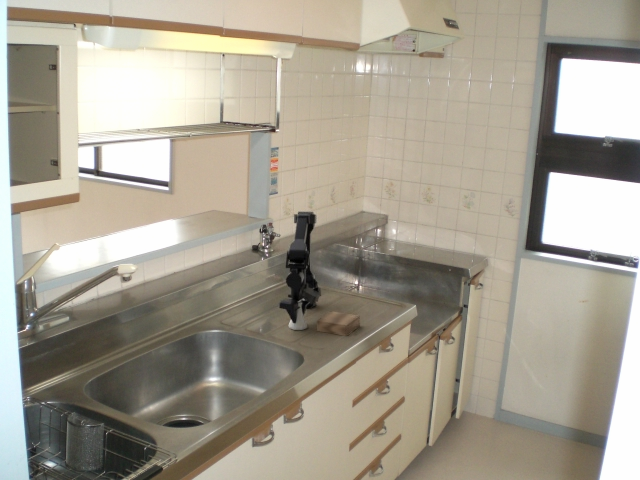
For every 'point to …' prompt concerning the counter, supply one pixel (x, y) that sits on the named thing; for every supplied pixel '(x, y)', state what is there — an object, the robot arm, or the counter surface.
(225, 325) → the counter surface
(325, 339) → the counter surface
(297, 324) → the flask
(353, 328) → the walnut block
